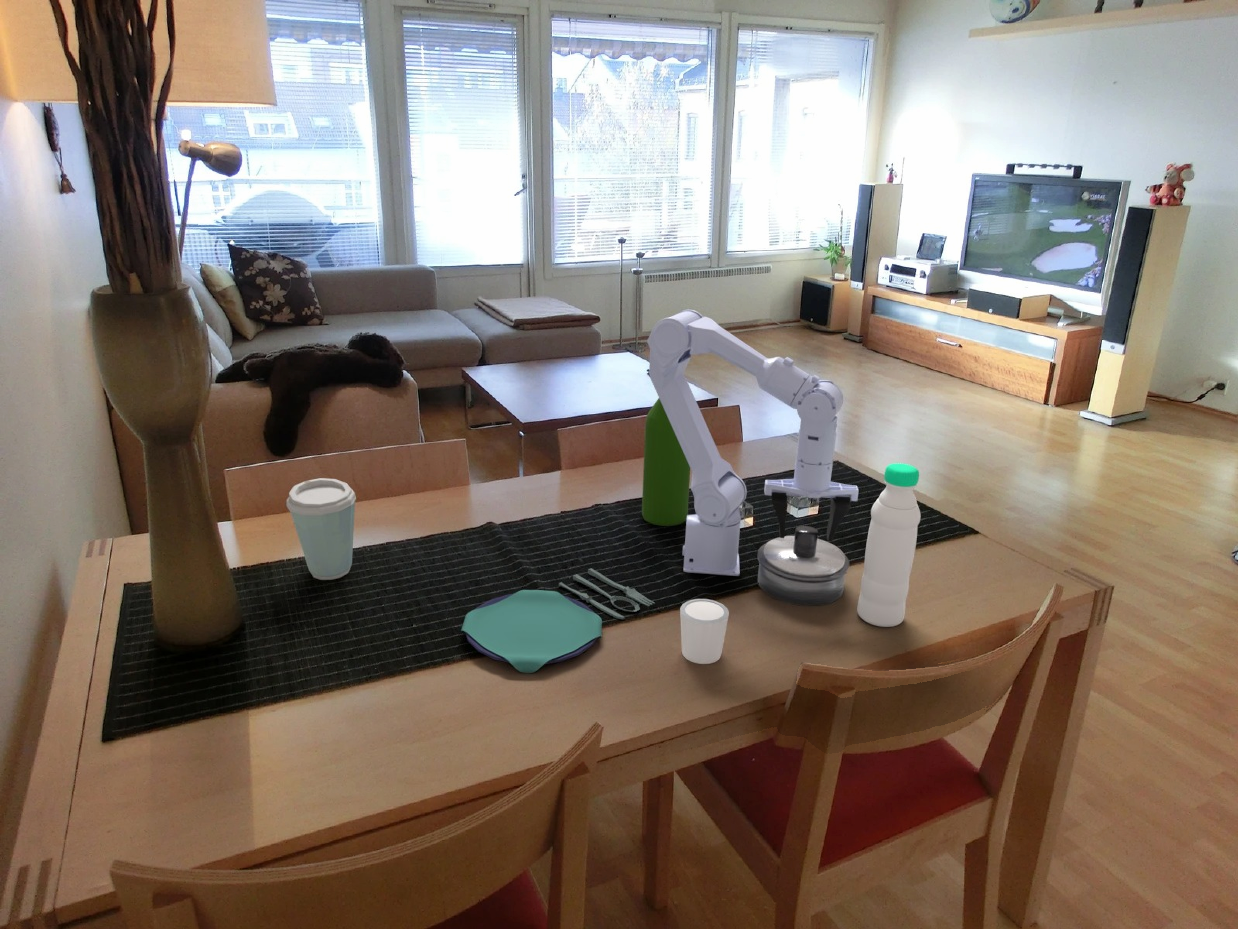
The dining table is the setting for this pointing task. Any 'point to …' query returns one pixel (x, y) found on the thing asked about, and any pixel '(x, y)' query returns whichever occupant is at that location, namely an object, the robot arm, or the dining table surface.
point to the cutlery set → (541, 624)
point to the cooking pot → (800, 585)
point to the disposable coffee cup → (324, 525)
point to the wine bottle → (664, 472)
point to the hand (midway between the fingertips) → (805, 537)
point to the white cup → (703, 630)
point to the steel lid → (804, 555)
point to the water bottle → (890, 548)
